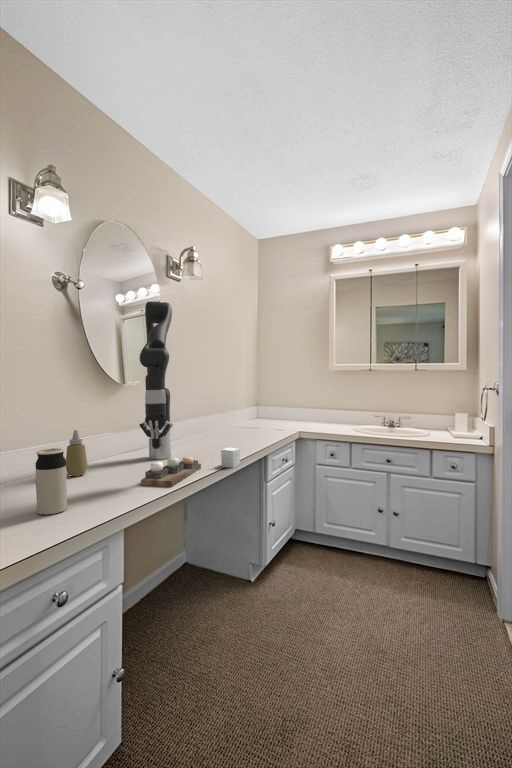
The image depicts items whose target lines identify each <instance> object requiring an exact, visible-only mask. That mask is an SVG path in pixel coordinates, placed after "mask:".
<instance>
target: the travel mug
mask: <svg viewBox="0 0 512 768" xmlns="http://www.w3.org/2000/svg"><path fill="white" fill-rule="evenodd" d="M65 451H66V450H65V448H62V447H55V448H52V447H51V448H44V449H40V450H37V451H36V452H35V453H36V455H37V459H36V461H35V464H34V465H35V492H36V494H35V495H36V497H35V498H36V513H37V514H38V513H39V514H38V515H41V514H53V515H56V514H55V513H58V514H60V513H59V512H61V513H63V512H65V511H66V510H67V509H68V488H67V487H68V485H67V484H68V483H67V482H68V481H67V470H66V457H65V456H64V453H65ZM62 511H63V512H62Z"/></svg>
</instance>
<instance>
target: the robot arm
mask: <svg viewBox="0 0 512 768" xmlns="http://www.w3.org/2000/svg"><path fill="white" fill-rule="evenodd" d="M172 315H173V310H172V304H171V303H169V302H163V301H146V303H145V307H144V316H145V318H144V319H145V327H146V328H145V329H146V343H145V345H144V346H143V348H142V349H141V351H140V354H139V363H140V365H141V366H142V367H144V368H146V373H147V374H146V375H145V381H144V382H145V392H144V395H145V396H144V405H145V406H144V407H145V409H144V410H145V413H144V414H145V418H144V421H143V422H142V423H139V427H140V429H141V430H142V431H143V433H144V435H146V436H147V438H148V459H152V460H167V459H168V458H172V452H171V449H172V447H171V446H172V445H171V428H173V426H174V424H173V423H172V422H171V392H170V389H169V388H167V387H166V373H167V369H168V364H169V361H170V353H169V351H168V349H167V347H166V346H167V345H166V343H167V342H166V341H167V335H168V332H169V328H170V325H171V323H172V318H173V317H172ZM154 324H156V325H154Z"/></svg>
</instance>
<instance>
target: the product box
mask: <svg viewBox="0 0 512 768" xmlns="http://www.w3.org/2000/svg"><path fill="white" fill-rule="evenodd" d="M240 449H241V448H238V447H225V448H223V449H221V451H220V453H221V458H220V459H221V462H220V463H221V466H220V467H222V468H230V469H231V468H233V469H234V468H236V467H238V466H240V465H241V455H240V451H241V450H240Z"/></svg>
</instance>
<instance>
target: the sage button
mask: <svg viewBox="0 0 512 768" xmlns="http://www.w3.org/2000/svg"><path fill="white" fill-rule="evenodd" d="M166 460H167V461H166V463H167V467H170V468H176V467H179V462H180V459H179V457H170V458H167V459H166Z"/></svg>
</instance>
